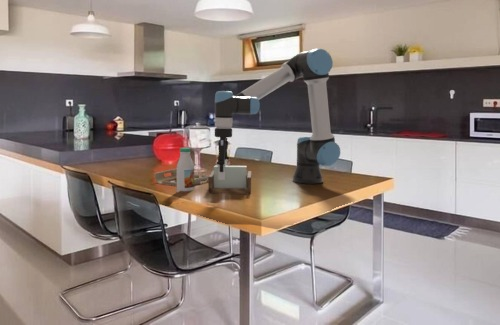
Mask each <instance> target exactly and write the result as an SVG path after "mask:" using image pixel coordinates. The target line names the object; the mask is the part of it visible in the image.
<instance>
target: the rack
mask: <svg viewBox="0 0 500 325" xmlns="http://www.w3.org/2000/svg"><path fill="white" fill-rule="evenodd" d="M208 176H209V177H208V178H209V181H208V194H236V195H237V194H238V195H239V194H240V195H243V194H246V195H251V194H252V171H251V170H247V188H214V170H211V173H210V174H209V175H208Z"/></svg>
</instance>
